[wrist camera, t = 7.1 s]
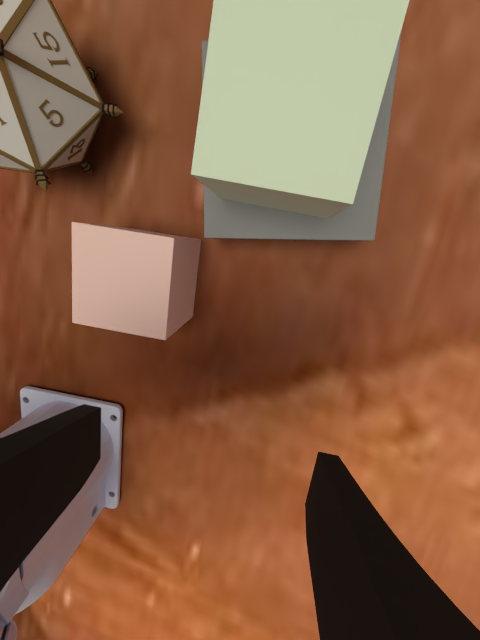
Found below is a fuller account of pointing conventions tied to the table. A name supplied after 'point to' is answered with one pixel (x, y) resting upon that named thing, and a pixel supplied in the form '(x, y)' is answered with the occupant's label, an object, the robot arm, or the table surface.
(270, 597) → the table surface
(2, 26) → the game die
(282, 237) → the base block
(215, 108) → the sage cube
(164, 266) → the rose cube
